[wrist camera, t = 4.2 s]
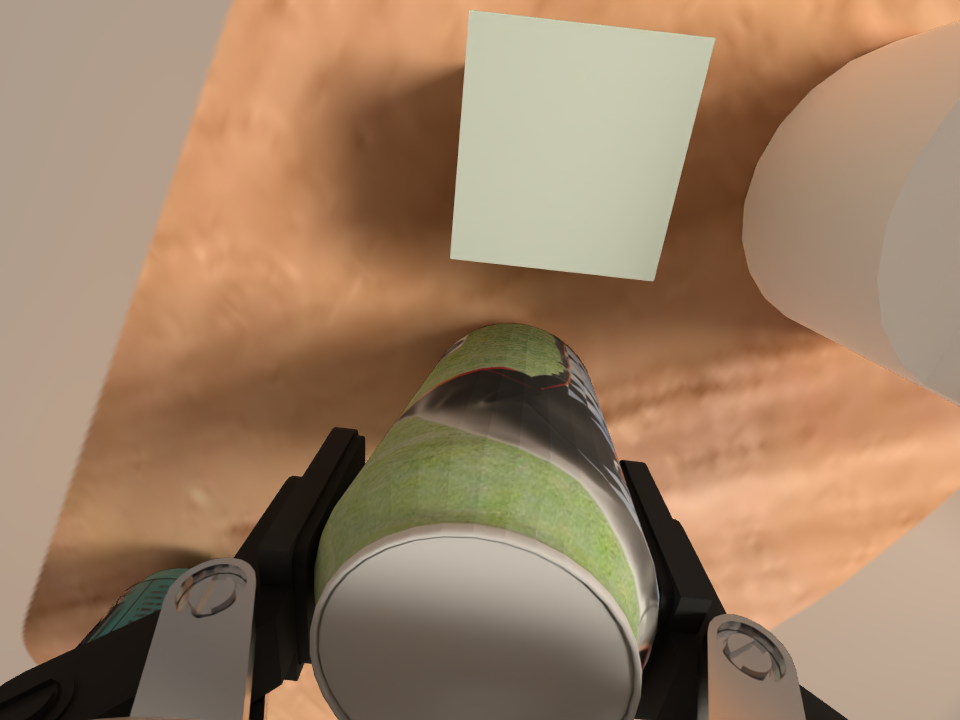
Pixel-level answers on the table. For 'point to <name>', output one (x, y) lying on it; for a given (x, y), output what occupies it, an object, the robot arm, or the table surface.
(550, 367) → the beverage can
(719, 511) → the table surface
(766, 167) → the cylinder with rectangular tab
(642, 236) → the sage block
